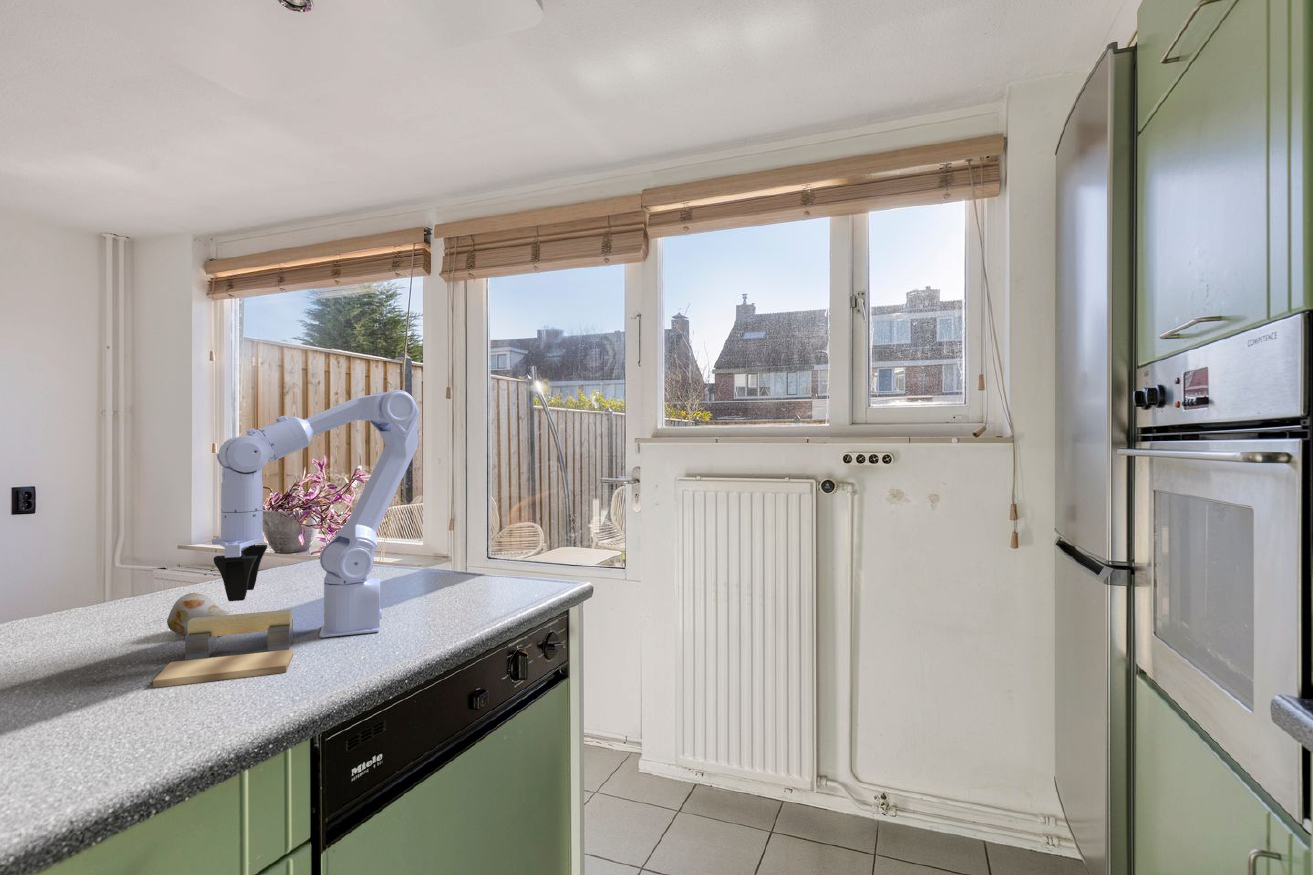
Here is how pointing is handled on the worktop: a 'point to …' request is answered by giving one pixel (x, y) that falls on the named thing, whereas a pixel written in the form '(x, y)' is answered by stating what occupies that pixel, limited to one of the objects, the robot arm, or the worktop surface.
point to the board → (224, 668)
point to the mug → (192, 611)
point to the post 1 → (199, 646)
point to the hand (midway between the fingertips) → (241, 595)
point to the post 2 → (280, 638)
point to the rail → (239, 623)
